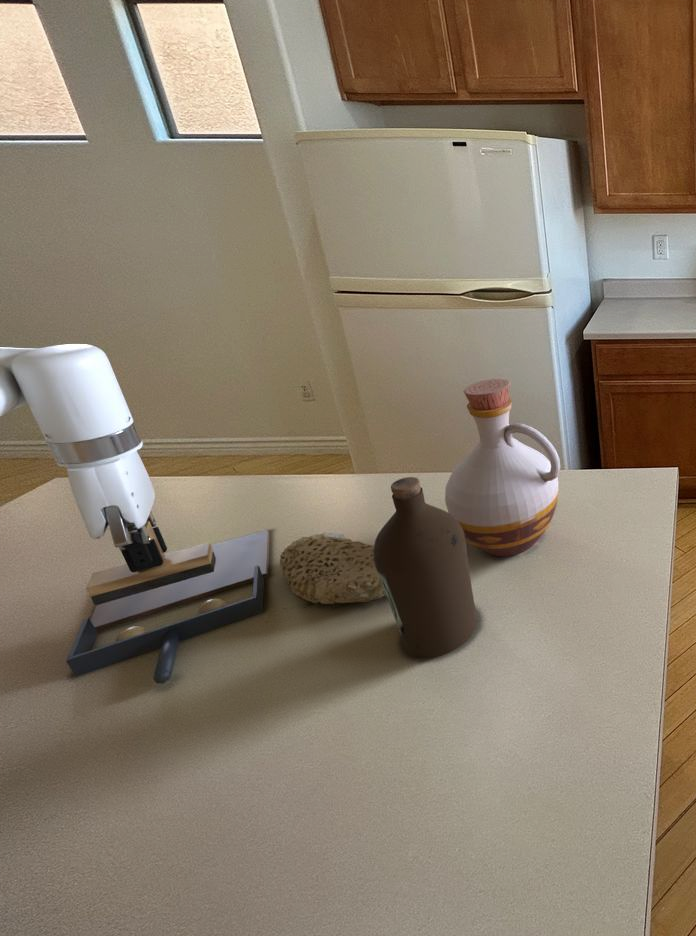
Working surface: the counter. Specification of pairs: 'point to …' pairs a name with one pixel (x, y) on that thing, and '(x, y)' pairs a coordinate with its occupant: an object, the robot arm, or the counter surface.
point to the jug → (502, 478)
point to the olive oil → (425, 573)
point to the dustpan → (160, 636)
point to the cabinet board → (193, 582)
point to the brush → (151, 572)
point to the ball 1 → (130, 632)
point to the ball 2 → (211, 605)
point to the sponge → (331, 569)
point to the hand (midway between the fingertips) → (149, 560)
